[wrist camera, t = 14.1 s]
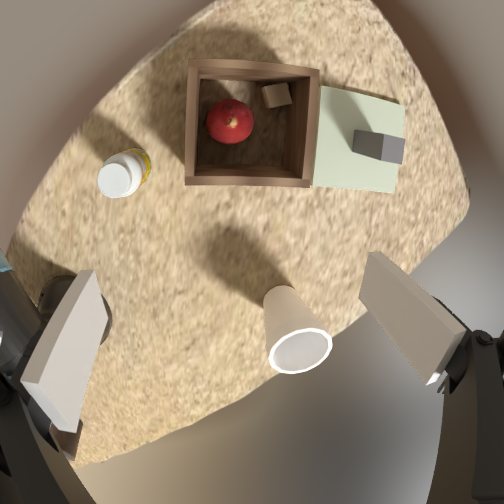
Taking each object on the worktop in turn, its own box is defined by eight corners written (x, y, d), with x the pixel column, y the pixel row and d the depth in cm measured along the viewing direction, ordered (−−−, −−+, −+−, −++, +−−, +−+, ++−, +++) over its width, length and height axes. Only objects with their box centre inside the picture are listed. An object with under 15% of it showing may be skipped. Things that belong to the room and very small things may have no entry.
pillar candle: (80, 415, 60) (70, 457, 46) (84, 429, 63) (76, 467, 50) (52, 405, 57) (39, 445, 44) (58, 420, 61) (48, 456, 47)
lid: (308, 183, 41) (334, 201, 33) (317, 86, 35) (347, 79, 26) (388, 190, 44) (423, 208, 35) (399, 106, 37) (438, 108, 29)
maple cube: (265, 109, 35) (270, 108, 32) (260, 89, 34) (264, 86, 31) (286, 104, 35) (292, 103, 33) (280, 84, 34) (286, 82, 31)
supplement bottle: (144, 141, 35) (124, 148, 26) (158, 175, 37) (143, 192, 28) (111, 157, 35) (84, 169, 26) (125, 190, 37) (103, 211, 29)
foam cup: (245, 314, 50) (257, 369, 38) (267, 271, 46) (287, 322, 35) (291, 324, 52) (312, 376, 41) (315, 285, 49) (344, 334, 38)
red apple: (205, 102, 34) (205, 97, 26) (248, 100, 34) (258, 95, 27) (207, 143, 36) (207, 149, 29) (249, 141, 37) (259, 146, 30)
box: (189, 171, 37) (184, 185, 29) (193, 73, 31) (189, 58, 23) (288, 173, 40) (309, 187, 32) (295, 79, 34) (319, 69, 26)
